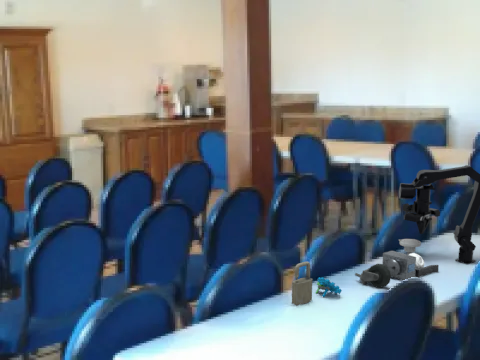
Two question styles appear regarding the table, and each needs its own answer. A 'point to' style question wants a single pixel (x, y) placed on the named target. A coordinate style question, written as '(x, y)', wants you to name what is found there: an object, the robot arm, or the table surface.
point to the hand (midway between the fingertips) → (421, 233)
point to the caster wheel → (375, 275)
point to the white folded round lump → (418, 261)
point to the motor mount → (405, 266)
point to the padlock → (302, 286)
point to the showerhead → (410, 245)
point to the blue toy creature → (327, 286)
